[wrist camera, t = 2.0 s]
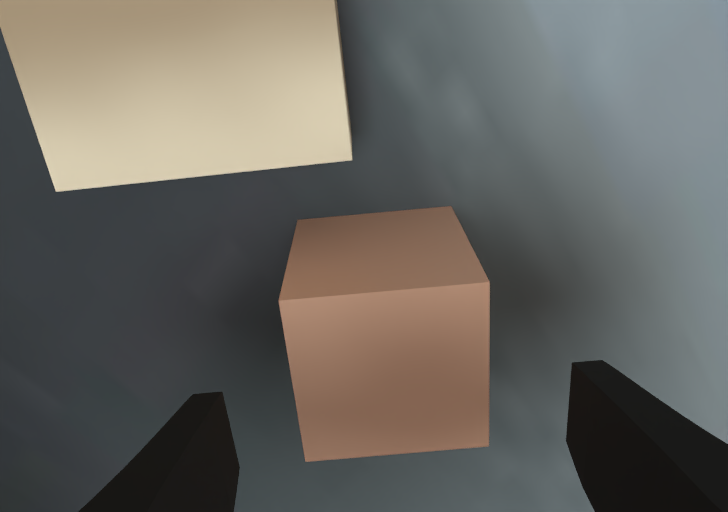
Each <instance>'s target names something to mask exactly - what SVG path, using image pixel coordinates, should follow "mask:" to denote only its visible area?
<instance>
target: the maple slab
mask: <svg viewBox="0 0 728 512" xmlns="http://www.w3.org/2000/svg"><path fill="white" fill-rule="evenodd" d="M0 28H1V30H2V33H3V36H4V39H5V42H6V45H7V48H8V51H9V54H10V57H11V60H12V63H13V66H14V69H15V72H16V75H17V78H18V81H19V84H20V87H21V90H22V93H23V96H24V99H25V102H26V104H27V107H28V110H29V113H30V116H31V119H32V122H33V125H34V128H35V131H36V134H37V137H38V140H39V143H40V146H41V149H42V152H43V155H44V158H45V161H46V164H47V167H48V170H49V173H50V175H51V178H52V181H53V184H54V187H55V190H56V192H59V191H68V190H77V189H87V188H96V187H105V186H115V185H124V184H134V183H143V182H152V181H162V180H171V179H180V178H190V177H199V176H209V175H218V174H227V173H237V172H246V171H256V170H265V169H274V168H284V167H293V166H302V165H312V164H321V163H331V162H340V161H349V160H352V134H351V125H350V116H349V107H348V98H347V89H346V80H345V70H344V61H343V52H342V43H341V34H340V25H339V16H338V7H337V0H0Z"/></svg>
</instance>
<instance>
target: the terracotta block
mask: <svg viewBox="0 0 728 512" xmlns="http://www.w3.org/2000/svg"><path fill="white" fill-rule="evenodd" d="M279 306H280V312H281V318H282V324H283V330H284V336H285V342H286V348H287V354H288V360H289V366H290V372H291V378H292V384H293V390H294V396H295V402H296V408H297V414H298V420H299V426H300V432H301V438H302V444H303V450H304V456H305V462H309V461H321V460H333V459H345V458H357V457H369V456H380V455H392V454H404V453H416V452H428V451H440V450H451V449H463V448H475V447H487V446H489V338H490V282H489V280H488V278H487V276H486V274H485V272H484V270H483V268H482V266H481V264H480V262H479V260H478V258H477V256H476V254H475V252H474V250H473V248H472V246H471V244H470V242H469V240H468V238H467V236H466V234H465V232H464V230H463V228H462V226H461V224H460V222H459V220H458V218H457V216H456V215H455V213H454V211H453V209H452V207H451V206H446V207H435V208H424V209H413V210H402V211H390V212H379V213H368V214H357V215H346V216H335V217H324V218H313V219H301V220H297V224H296V229H295V233H294V237H293V241H292V246H291V250H290V254H289V258H288V263H287V267H286V271H285V275H284V280H283V284H282V288H281V292H280V297H279Z"/></svg>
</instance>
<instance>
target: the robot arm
mask: <svg viewBox="0 0 728 512" xmlns="http://www.w3.org/2000/svg"><path fill="white" fill-rule="evenodd" d="M566 442H567V445H568V448H569V451H570V454H571V457H572V459H573V462H574V465H575V468H576V471H577V473H578V476H579V479H580V481H581V484H582V486H583V489H584V491H585V493H586V495H587V497H588V499H589V501H590V503H591V505H592V507H593V509H594V511H595V512H728V444H726V443H725V442H723V441H722V440H720V439H718V438H717V437H715V436H713V435H712V434H710V433H709V432H707V431H705V430H704V429H702V428H701V427H699V426H698V425H696V424H695V423H693V422H692V421H690V420H688V419H687V418H685V417H684V416H682V415H681V414H679V413H678V412H677V411H675V410H674V409H672V408H671V407H669V406H668V405H666V404H665V403H663V402H662V401H660V400H659V399H658V398H656V397H655V396H653V395H652V394H650V393H649V392H648V391H646V390H645V389H643V388H642V387H640V386H639V385H638V384H636V383H635V382H633V381H632V380H631V379H629V378H628V377H626V376H625V375H623V374H622V373H621V372H619V371H618V370H616V369H615V368H613V367H612V366H610V365H609V364H607V363H606V362H604V361H603V360H597V361H585V362H573V363H572V370H571V383H570V396H569V409H568V422H567V435H566ZM239 468H240V467H239V463H238V458H237V454H236V450H235V445H234V441H233V437H232V432H231V428H230V423H229V419H228V415H227V410H226V406H225V402H224V397H223V393H222V392H213V393H201V394H193V395H192V396H191V397H190V398H189V399H188V400H187V401H186V402H185V403H184V404H183V405H182V406H181V408H180V409H179V410H178V411H177V412H176V413H175V414H174V415H173V416H172V417H171V418H170V420H169V421H168V422H167V423H166V424H165V425H164V426H163V427H162V428H161V429H160V431H159V432H158V433H157V434H156V435H155V436H154V437H153V438H152V439H151V440H150V441H149V442H148V444H147V445H146V446H145V447H144V448H143V449H142V450H141V451H140V452H139V453H138V454H137V455H136V456H135V457H134V458H133V459H132V460H131V461H130V463H129V464H128V465H127V466H126V467H125V468H124V469H123V470H121V471H120V472H119V473H118V474H117V475H116V476H115V477H114V478H113V479H112V480H111V481H110V482H109V483H108V484H107V485H106V486H105V487H104V488H103V489H102V490H101V491H100V492H99V493H98V494H97V495H96V496H95V497H94V498H93V499H92V500H91V501H90V502H89V503H87V504H86V505H85V506H84V507H83V508H82V509H81V510H80V511H79V512H234V505H235V498H236V492H237V484H238V476H239Z"/></svg>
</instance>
